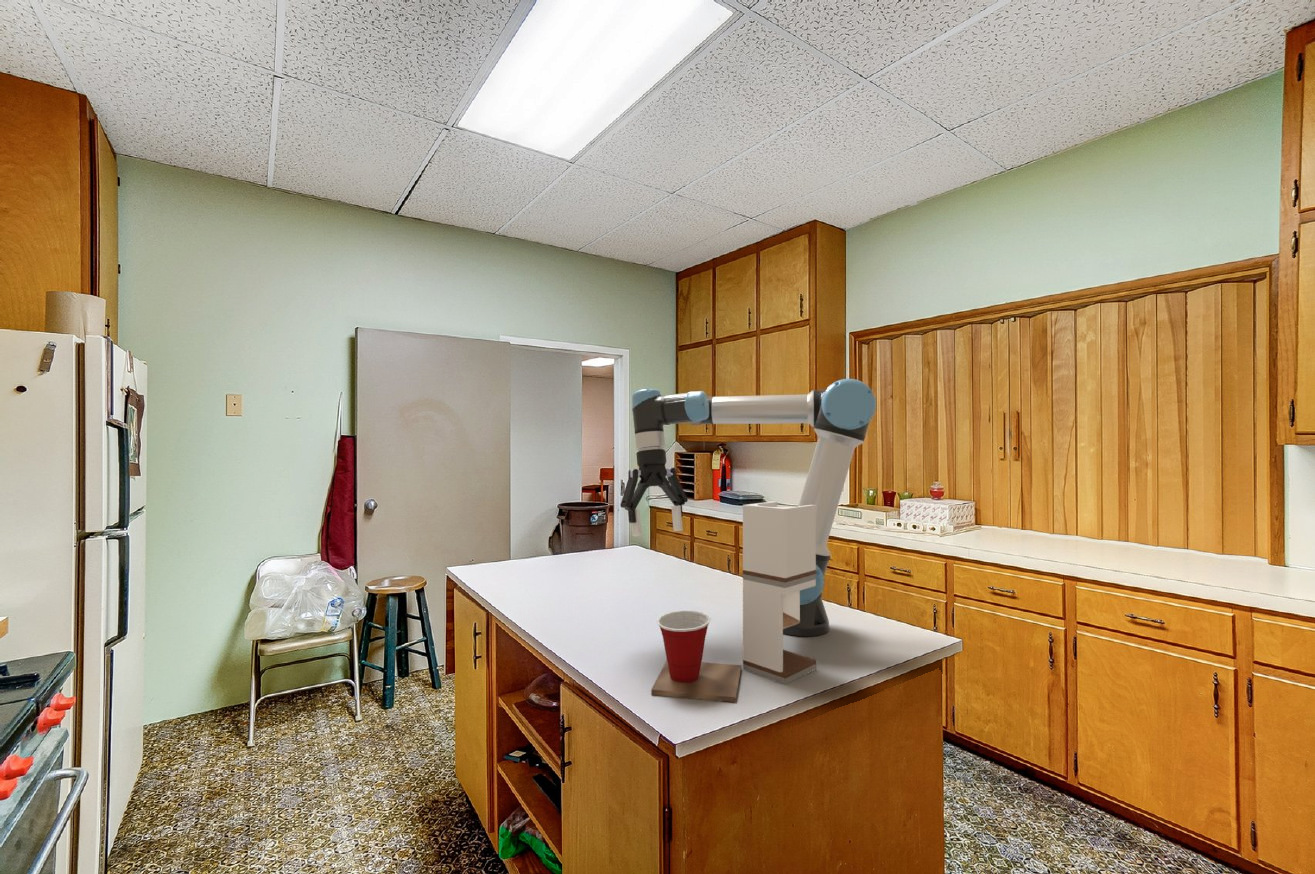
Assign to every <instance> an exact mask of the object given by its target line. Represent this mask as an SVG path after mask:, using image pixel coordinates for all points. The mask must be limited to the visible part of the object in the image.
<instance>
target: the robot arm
mask: <svg viewBox="0 0 1315 874" xmlns="http://www.w3.org/2000/svg"><path fill="white" fill-rule="evenodd" d="M631 397H632V398H631V399H632V400H631V402H632V408H631V411H632V418H633V428H634V442H635V450H637V453H636V454H635V455H636V463H637V467H638V469H637V468H633V469H629V470H628V475H627V476H628V480H627V481H626V486H625V489H624V492H623V496H622V499H621V502H620V505H619V506H620V508H624V509H625V510H626V511H627V516H628V522H629V524H631V536H632V537H633V538H634V537H642V525H641V517H640V509H639V508H637V507H638V505H639V503H640V502H641V500H642V498H643V496H644V494H645V492H646V491H647V489H649V487H659V488H660V489H661V490H662V491H663V492H664V494H665V495H666V497H667V498H668V500H670V502H671V503H672V504H673V505H672V506H671V517H672V518H671V519H672V528H673V529H672V530H673V532H682V531H683V521H682V520H683V519H682V518H683V516H684V513H683V512H684V511H683V506H684V505H685V504H686V503H688V500H689V499H688V497H687V495H686V492H685V491H684V488H683V486H682V485H681V482H680V480H679V477H678V475H677V470H676V468H675V467H669V468H666V464H667V452H666V450H665V449H664V448H665V447H666V443H665V442H666V440H665V432H664V426H668V425H676V424H689V425H692V426H702V425H717V424H718V425H732V424H733V425H735V424H736V425H739V424H740V425H742V424H743V425H744V424H745V425H746V424H747V425H748V424H750V425H751V424H756V425H758V424H761V425H762V424H763V425H764V424H808V425H809V426H811V427H812V428H813V430H814V432H815V434H816V436H817V441H816V445H815V449H814V452H813V454H812V459H811V463H810V466H809V469H808V473H807V476H806V480H805V483H804V486H803V490H802V494H801V496H800V500H799V504H798V506H806V505H816V586H813V587H810V588H807V589H803V590H800V623H799V624H797V625H794V626H791V627H788V628H785V629H783V635H784V634H785V635H790V636H795V637H816V636H821V635H824V634H826V633H828V632H829V631H830V621H829V617H828V614H827V610H826V608H825V605H824V601H823V596H822V595H823V593H822V592H823V589H824V587H825V583H824V582H825V575H826V572H827V567H828V565H829V561H830V557H831V555H832V554H831V551H830V550H829V548H828V540H829V537H830V534H831V531H832V528H833V524H834V521H835V516H836V514H837V510H838V506H839V503H840V500H841V496H842V493H843V490H844V486H845V483H846V479H847V476H848V472H849V468H850V465H851V463H852V460H853V456H854V452H855V449H856V447H858V446H861V445H862V444H863V443H864V442H865V438H866V435H867V432H868V429H869V426H870V423H871V422H870V421H871V420H872V419H873V417H874V415H875V414H876V413H875V412H876V409H877V401H876V397H875V394H874V392H873V390H872V389H871V387H869V386H868V385H867V384H866V383H864V382H863V381H861V380H858V379H854V378H842V379H839V380H836V381H834V382H833V383H831V384H829V385H828V387H826V389H815V390H814V389H813V390H810V392H809V393H808V394H805V393H804V394H777V395H776V394H774V395H773V394H771V395H770V394H769V395H766V394H765V395H737V396H735V395H731V396H708V395H707V393H706V392H705V391H703V390H699V391H697V390H696V391H693V390H692V391H689V392H683V393H675V394H669V395H661V391H660V390H659V389H656V388H644V389H639V390H637V391H634V392H633V393H632V395H631ZM639 478H640V480H639ZM638 480H639V482H638Z"/></svg>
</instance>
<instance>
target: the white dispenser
mask: <svg viewBox="0 0 1315 874" xmlns="http://www.w3.org/2000/svg"><path fill="white" fill-rule="evenodd" d="M813 586H816V505H806V506H799V505H798V506H787V507H786V506H784V507H783V506H782V507H781V506H780V507H779V506H778V501H769V502H768V501H767V502H766V501H765V502H757V503H756V502H755V503H749V504H742V670H743V671H747V672H749V673H752V674H754V675H758V676H760V677H764V678H766V679H769V680H771V681H774V680H775V681H774V682H776V683H777V682H778V683H780V684H783V685H788V684H789V683H791V682H793V681H795V680H797V679H799V678H801V677H803V675H804V674H806V673H808V672H810V671H812V670H814V669H816V670H817V659H816V658H811V657H808V656H805V655H801V654H799V653H795V652H792V651H789V650H786V649H784V633H783V629H785V628H788V627H791V626H794V625H797V624H799V623H800V590H803V589H807V588H810V587H813ZM814 671H815V670H814ZM812 672H813V671H812ZM810 673H811V672H810ZM808 674H809V673H808ZM806 675H807V674H806ZM800 676H801V677H800ZM804 676H805V675H804Z"/></svg>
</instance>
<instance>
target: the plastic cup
mask: <svg viewBox="0 0 1315 874" xmlns="http://www.w3.org/2000/svg"><path fill="white" fill-rule="evenodd" d="M710 621H711V617H710V615H708V614H707V613H704V612H700V611H696V610H677V611H671V612H668V613H664V614H662V615H661V616H659V617H658V618H657V620H656V623H657V625H658V627H659V629H660V631H661V632H660V633H661V635H662V641H663V646H664V651H665V656H666V657H665V658H666V661H667V662H668V668H669V674H670V677H671V679H672V680H674V681H676V682H682V683H689V682H694V681H696V680H697V679H698V677H699V674H700V667H701V662H703V656H704V650H705V649H704V648H705V642H706V636H707V633H708V632H707V631H708V626H709V624H710Z"/></svg>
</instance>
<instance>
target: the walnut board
mask: <svg viewBox="0 0 1315 874" xmlns="http://www.w3.org/2000/svg"><path fill="white" fill-rule="evenodd" d="M741 672H742V665H741V664H731V663H718V662H707V661H702V662H701V667H700V674H699V677H698V679H697V680H696V681H694V682H689V683H682V682H676V681H674V680H672V679H671V677H670V674H669V668H668V662H667V660H665V663H664V665H663V666H662V669H661V670H660V672H659V674H658V677H657V678H656V680H655V682H654V684H653V686H652V687H651V691H650V692H651V696H658V697H659V696H662V697H670V696H671V697H673V698H681V699H692V700H705V701H713V700H715V702H724V701H730V702H729V703H735V702H737V697H738V696H737V695H738V691H737V690H739V684H740V679H741V674H742V673H741ZM736 696H737V697H736ZM719 700H721V701H719Z"/></svg>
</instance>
